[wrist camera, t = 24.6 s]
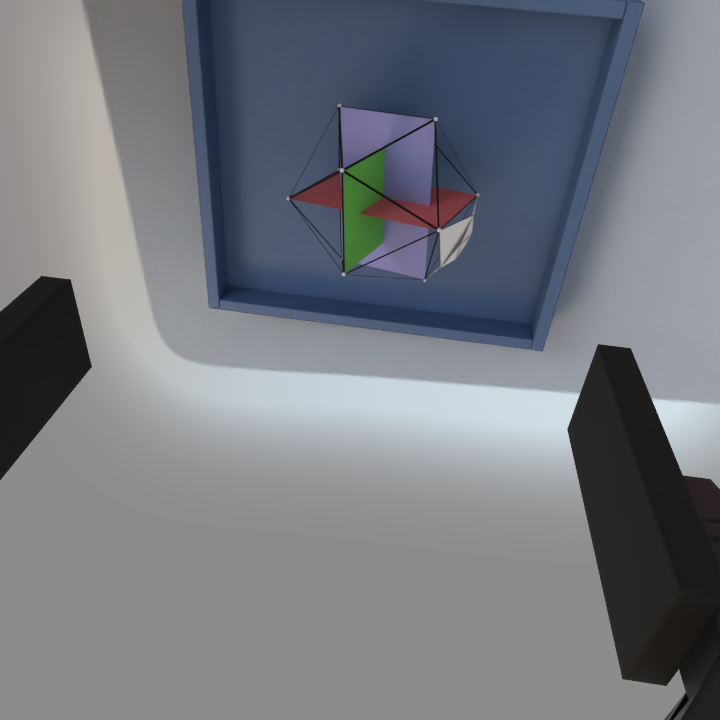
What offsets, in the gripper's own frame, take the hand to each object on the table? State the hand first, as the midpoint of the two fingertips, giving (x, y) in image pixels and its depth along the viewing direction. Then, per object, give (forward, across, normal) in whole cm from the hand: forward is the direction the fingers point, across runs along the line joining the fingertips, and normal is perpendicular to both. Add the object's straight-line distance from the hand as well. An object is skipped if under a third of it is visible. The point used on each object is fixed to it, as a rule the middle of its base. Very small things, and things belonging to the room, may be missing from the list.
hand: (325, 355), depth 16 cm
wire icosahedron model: (+15, 0, 0) cm, 15 cm away
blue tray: (+16, 0, 0) cm, 16 cm away
